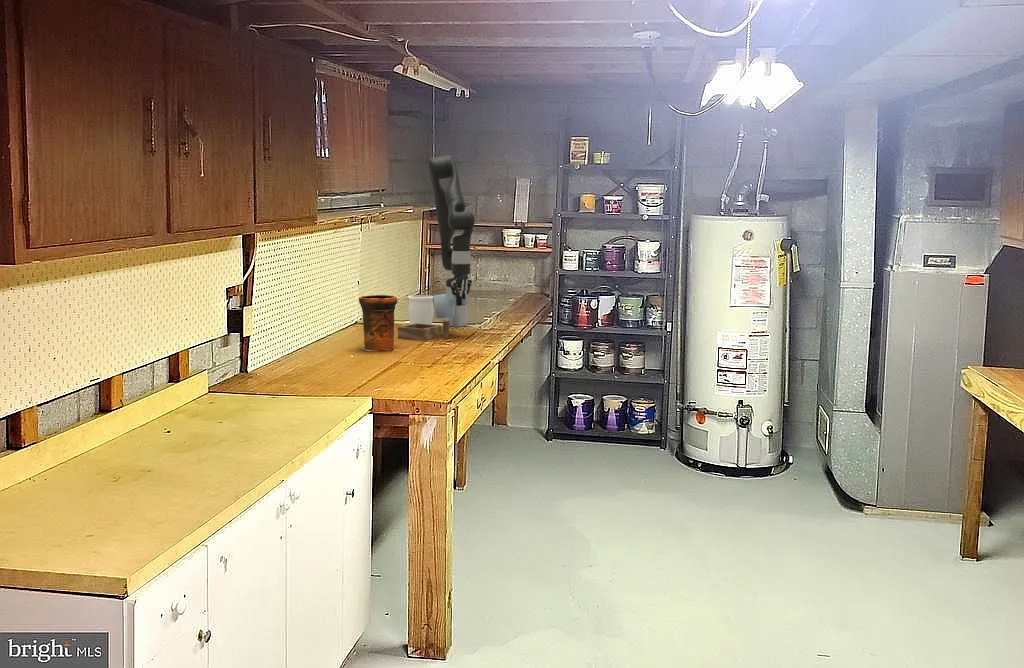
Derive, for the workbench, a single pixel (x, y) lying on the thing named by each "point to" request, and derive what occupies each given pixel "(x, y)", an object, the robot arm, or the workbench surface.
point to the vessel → (378, 321)
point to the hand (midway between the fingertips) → (460, 305)
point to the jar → (420, 309)
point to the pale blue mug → (446, 305)
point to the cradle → (423, 331)
